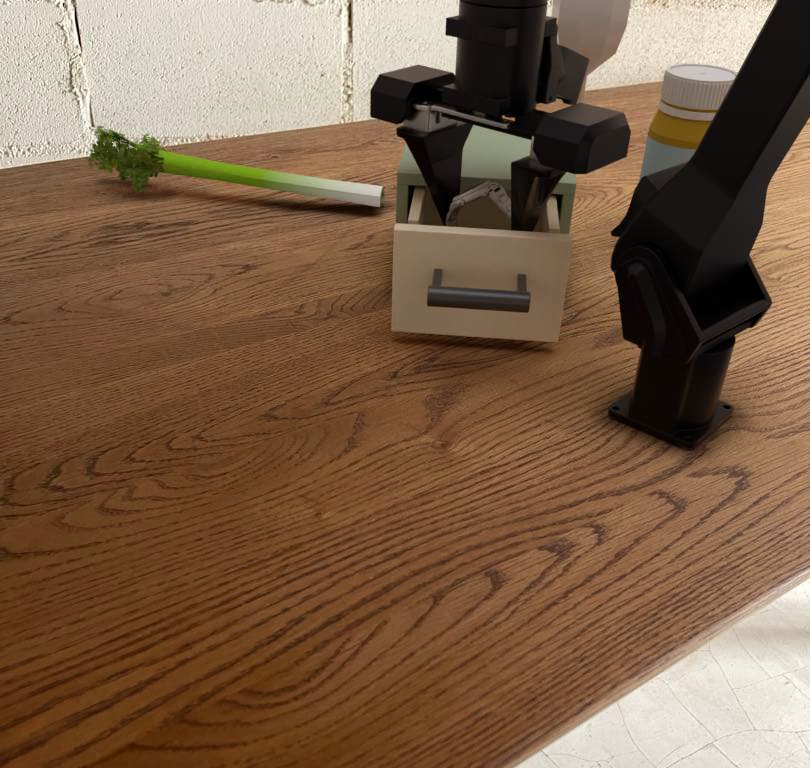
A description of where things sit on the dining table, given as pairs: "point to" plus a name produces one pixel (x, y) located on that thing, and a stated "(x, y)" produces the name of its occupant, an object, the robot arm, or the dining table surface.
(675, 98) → the bottle
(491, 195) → the wristwatch
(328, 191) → the leek
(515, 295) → the drawer
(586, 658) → the dining table surface
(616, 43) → the wineglass
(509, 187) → the cabinet
